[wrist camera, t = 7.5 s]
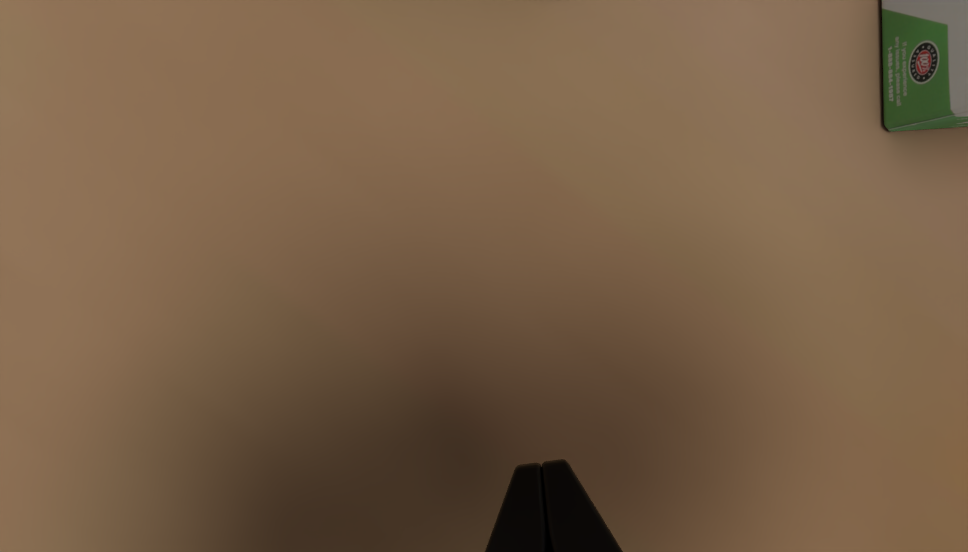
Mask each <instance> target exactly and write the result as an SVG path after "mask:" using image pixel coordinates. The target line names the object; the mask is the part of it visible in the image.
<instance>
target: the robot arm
mask: <svg viewBox="0 0 968 552" xmlns="http://www.w3.org/2000/svg"><path fill="white" fill-rule="evenodd" d="M485 552H623V551H622V550H621V548H620V546H619V545H618V543H617V542H616V540H615V538H614V537H613V535H612V533H611V532H610V530H609V529H608V527H607V525H606V524H605V522H604V520H603V519H602V517H601V515H600V514H599V512H598V511H597V509H596V507H595V506H594V504H593V502H592V501H591V499H590V498H589V496H588V494H587V493H586V491H585V489H584V488H583V486H582V485H581V483H580V481H579V480H578V478H577V476H576V475H575V473H574V472H573V470H572V468H571V467H570V465H569V464H568V462H567V461H566V460H563V459H561V460H553V461H546V462H544V463H543V464H542V467H541V465H540V464H539V463H530V464H523V465H518V466H517V467H516V468H515V470H514V473H513V475H512V478H511V481H510V484H509V486H508V489H507V492H506V495H505V498H504V500H503V503H502V506H501V509H500V512H499V514H498V517H497V520H496V523H495V525H494V528H493V531H492V534H491V537H490V539H489V542H488V545H487V548H486V550H485Z"/></svg>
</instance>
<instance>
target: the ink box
mask: <svg viewBox="0 0 968 552" xmlns="http://www.w3.org/2000/svg"><path fill="white" fill-rule="evenodd" d="M882 43H883V97H884V125H885V127H886V128H887V129H888V130H889V131H905V130H921V129H937V128H953V127H965V126H968V0H882Z"/></svg>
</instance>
